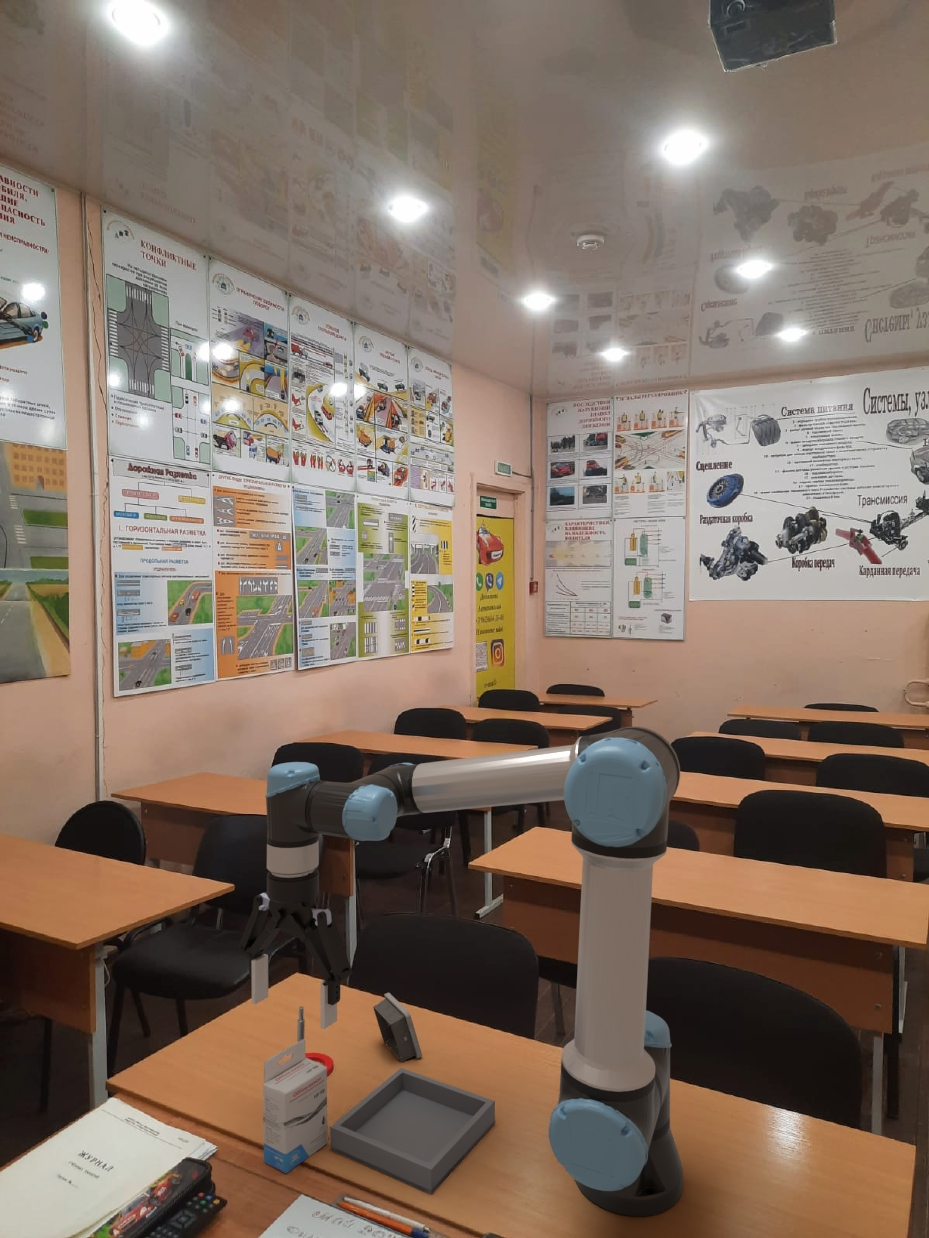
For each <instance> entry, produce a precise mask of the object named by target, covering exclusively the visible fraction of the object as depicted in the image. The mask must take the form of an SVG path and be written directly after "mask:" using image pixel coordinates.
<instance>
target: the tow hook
mask: <svg viewBox="0 0 929 1238" xmlns="http://www.w3.org/2000/svg"><path fill="white" fill-rule="evenodd" d="M305 1023H306V1022H305V1018H304V1006H299V1007H298V1019H297V1033H296V1034H297V1035H296V1036H297V1037H296V1038H297V1041H296V1043H297V1042H299V1041H301V1040H302V1039H304V1040H305V1027H306V1026H305ZM305 1058H308V1059H310V1060H312V1061H315V1062H318V1063H320V1064H322V1065H324V1066H326V1067H327V1076H329V1075H330V1074H331V1073H332V1072H333V1070H334V1060H333V1058H331V1056H329V1055H327V1054H325V1053H320V1052H305Z"/></svg>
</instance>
